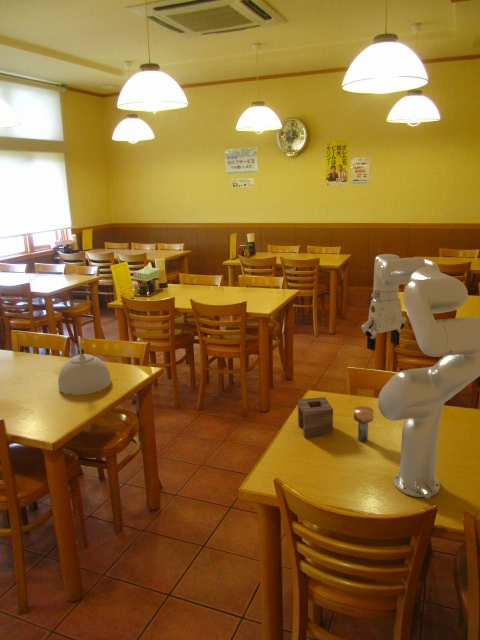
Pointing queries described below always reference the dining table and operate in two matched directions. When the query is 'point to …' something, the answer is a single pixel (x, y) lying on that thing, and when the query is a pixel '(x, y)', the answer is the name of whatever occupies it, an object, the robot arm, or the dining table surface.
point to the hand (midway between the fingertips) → (383, 346)
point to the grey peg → (363, 421)
